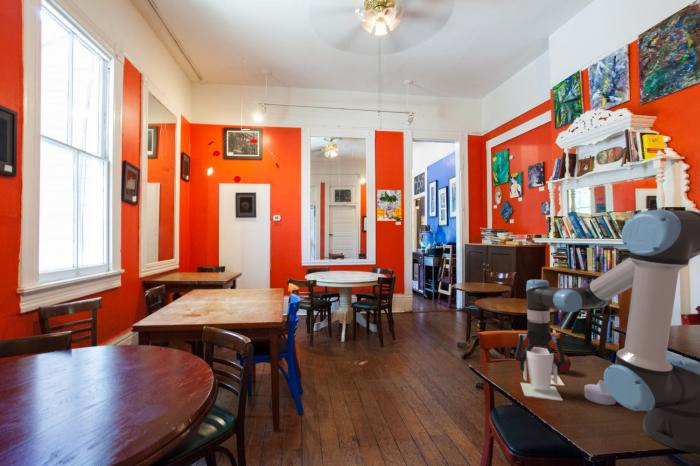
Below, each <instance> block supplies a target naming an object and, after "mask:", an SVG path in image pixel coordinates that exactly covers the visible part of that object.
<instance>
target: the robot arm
mask: <svg viewBox="0 0 700 466" xmlns="http://www.w3.org/2000/svg"><path fill="white" fill-rule="evenodd" d="M621 241H622V243H623V245H625V248H626V250H627V251H629V256H628V258H626V259H625V260H623V261H622V262H620V263H618V264H617V265H616V266H614V267H613V268H611V269H609V270H608V271H606V272H605V273H603V274H602V275H600V276H598V277H597V278H595V279H593V280H592V281H591V282H589V283H587V284H585V286H580V287H553V286H550V284H549V281H548V280H546V279H529V280H527V281H526V287H525V288H526V289H525V291H526V312H527V313H526V314H527V315H526V316H527V317H526V318H527V321H526V323H527V327H526V328H527V332H526V333H523V334H522V333H518V342H517V345H516V346H517V347H516V350H515V353H514V354H515V355H514V359H515V361H518V362H519V368H520V371H521V372H522V371H523V380H524V381H525V382H527V381H528V377H527V376H528V375H527V373H528V372H527V370H528V366H527V359H526V358H527V351H531V349H532V348H533V347H541V348H544V347H545V349H547V350H548V351H549V353H550V354H551V353H553V352H554V351H553V349H552V348H551V345H550V344H549V343H550V342H551V341H552V342H553V343H554V344H555V347H556V351H557V353H558V354H559V358H560V361H558V359H557V358H556V356H555V353H554V361H555V363H556V364H553V368H552V373H553V374H552V375H553V380H554V383H555V384H558V382H557V376H560V375H561V373H560V366H561V365H566V362H565V358H564V355H565V354H564V353H563V349H562V347H561V338H560V337H559V336H558V335H556V336H553V335H552V333H551V322H550V321H551V313H550V309H553V310H558V311H562V312H564V313H566V312H568V313H575V312H577V311H578V310H581V309H585V310H586V309H599V308H604V307H606V306H608V304H609V302H610V300H611V299H612V298H614V297H616V296H619V295H620V294H622V293H623V292H625V291H627V290H629V289H631V294H630V304H629V311H628V320H627V327H626V333H625V341H624V348H621V349H619V350H617V352H616V355H615V363H614V364H611V365H609V366H608V367H606V369H604V372H603V381H604V382H605V385H606V388H607V390H608V391H609V392H610V393H611V395H612V397H613V398H614V399H615V400H616V403H619V405H621V406H623V407H624V408H626V409H628V410H631V411H637V412H638V411H639V412H640V411H645V412H646V413H645V416H644V419H643V422H642V426H643V427H642V428H643V429H642V430H643V432H644V433H645V434H646V435H647V436H648V437H650V438H651V439H653V440H654V441H656V442H658V443H660V444H663V445H665V446H667V447H670V448H672V449H676V450H679V451H682V452H685V453H686V452H687V453H689V454H690V453H692V454H697V455H700V361H697V360H695V359H693V358H688V357H685V356H680V355H676V354H670V353H667V352H668V347H669V346H668V345H669V339H670V338H669V337H670V334H671V332H670V331H671V325H672V319H673V313H674V306H675V305H674V304H675V299H676V292H677V285H678V277H679V274H680V273H679V272H680V270H682V269H684V268H686V267H688V266H689V262H690V260H691V259H693V258H696V257H697V256H699V255H700V212H698V211H695V210H674V209H673V210H672V209H667V210H666V209H653V210H644V211H641V212H637V213H635V214H634V215H632V216H631V217H630V218H629V219H627V221H626V222H625V224H624V225H623V228H622V230H621ZM526 338H527V339H528V340H529V341H528V343H527V346H526V347H525V349H526V351H525V350H523V352H522V348H523V345H524V341H525V340H526ZM521 353H522V355H521ZM563 354H564V355H563ZM694 452H695V453H694Z"/></svg>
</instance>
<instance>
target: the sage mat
mask: <svg viewBox="0 0 700 466" xmlns="http://www.w3.org/2000/svg"><path fill="white" fill-rule="evenodd" d="M520 386H521V389H522V392H523V395H524V397H527V398H535V399H542V400H543V399H544V400H551V401H560V402H563V401H564V400H563V398H562V396H561V394H560V393H559V392H558V390H557V387H556V385H555V386H554V385H550V389H538V388H535V387H533V386H532V385H531V383H530V382H529V383H527V382H520Z"/></svg>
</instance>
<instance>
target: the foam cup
mask: <svg viewBox="0 0 700 466" xmlns="http://www.w3.org/2000/svg"><path fill="white" fill-rule="evenodd" d="M524 351H526V348H525V349H524ZM554 354H555V352H554V351H553V353H551V354H550V353H549V351H548V350H547V348H546V347H545V348H544V347H539V346H534V347H533V348H532V349H531V351H527V358H526V366H527V370H528V375H529V384H531V385H532V386H533V387H535V388H538V389H550V386H551V385H552V384H551V375H553V374H552V373H553V368H552V367H553V360H554Z"/></svg>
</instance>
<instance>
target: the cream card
mask: <svg viewBox="0 0 700 466" xmlns="http://www.w3.org/2000/svg"><path fill="white" fill-rule="evenodd" d="M557 382H558V384H555V383H554V380H553V374H552V375H551V384H550V385H552V386H554V385H555V386H562V387H565V384H564V382H563V381H562V379H561V378H560V375H557Z"/></svg>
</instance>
